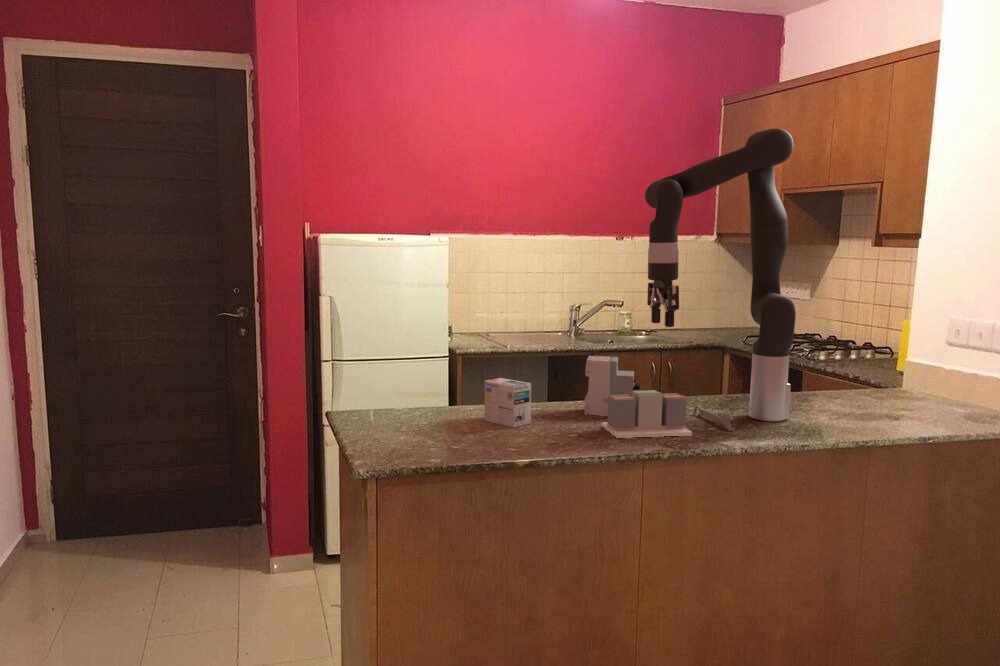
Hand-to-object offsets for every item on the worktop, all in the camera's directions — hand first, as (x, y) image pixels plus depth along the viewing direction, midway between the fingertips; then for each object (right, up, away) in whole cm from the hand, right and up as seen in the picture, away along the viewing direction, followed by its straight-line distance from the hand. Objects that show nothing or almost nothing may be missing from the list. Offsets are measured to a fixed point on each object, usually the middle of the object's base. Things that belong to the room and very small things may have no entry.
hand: (662, 324), depth 194 cm
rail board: (-5, -26, -5) cm, 27 cm away
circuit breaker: (-11, -24, +14) cm, 30 cm away
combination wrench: (+14, -26, +5) cm, 30 cm away
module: (-5, -25, -5) cm, 26 cm away
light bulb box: (-39, -25, +2) cm, 47 cm away
